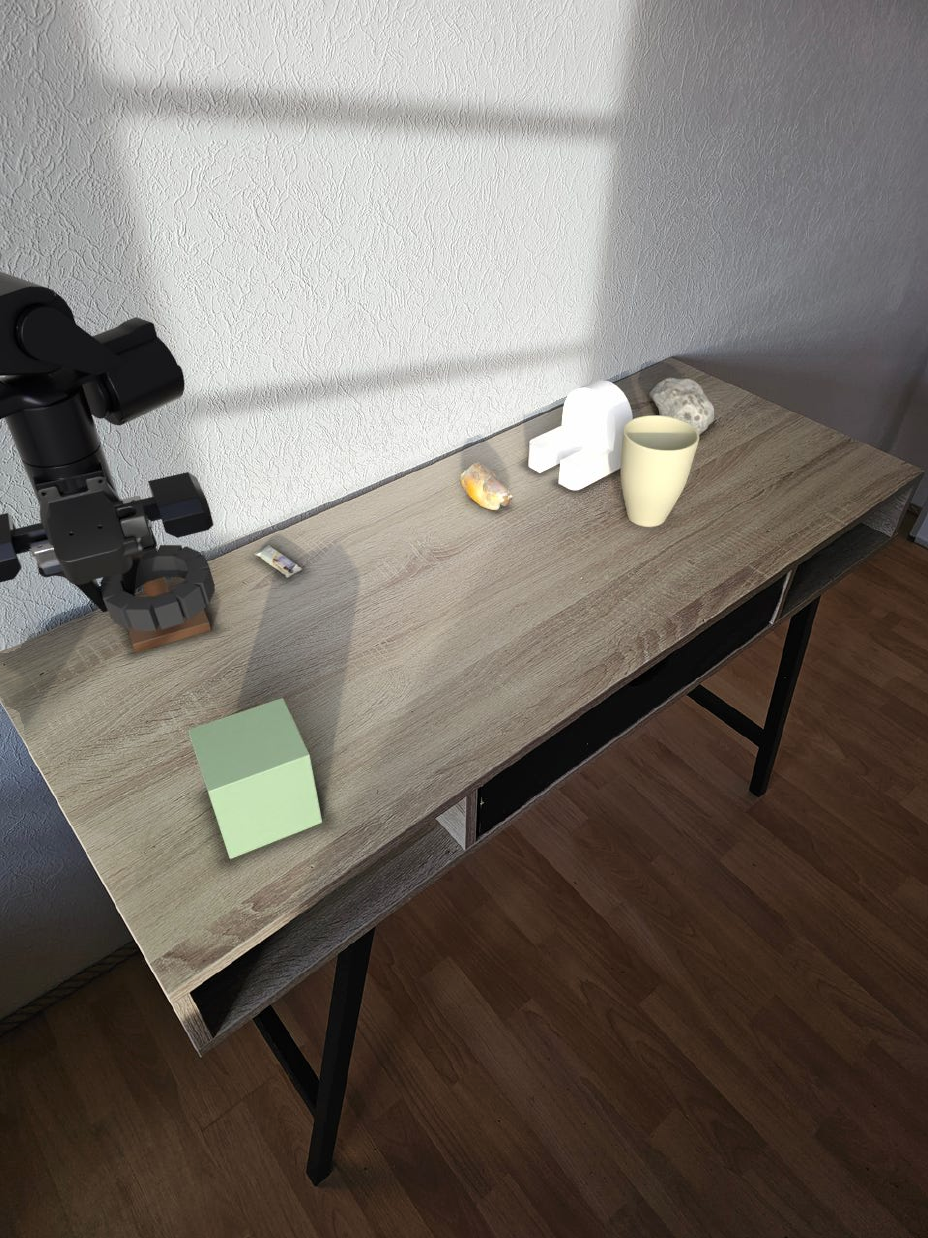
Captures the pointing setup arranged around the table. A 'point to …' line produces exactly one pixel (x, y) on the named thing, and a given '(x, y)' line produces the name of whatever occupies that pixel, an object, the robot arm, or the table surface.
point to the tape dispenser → (585, 436)
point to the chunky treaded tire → (167, 605)
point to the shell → (485, 487)
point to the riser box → (257, 776)
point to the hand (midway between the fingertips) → (118, 605)
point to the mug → (655, 466)
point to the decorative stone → (683, 402)
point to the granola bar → (278, 561)
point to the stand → (171, 634)
